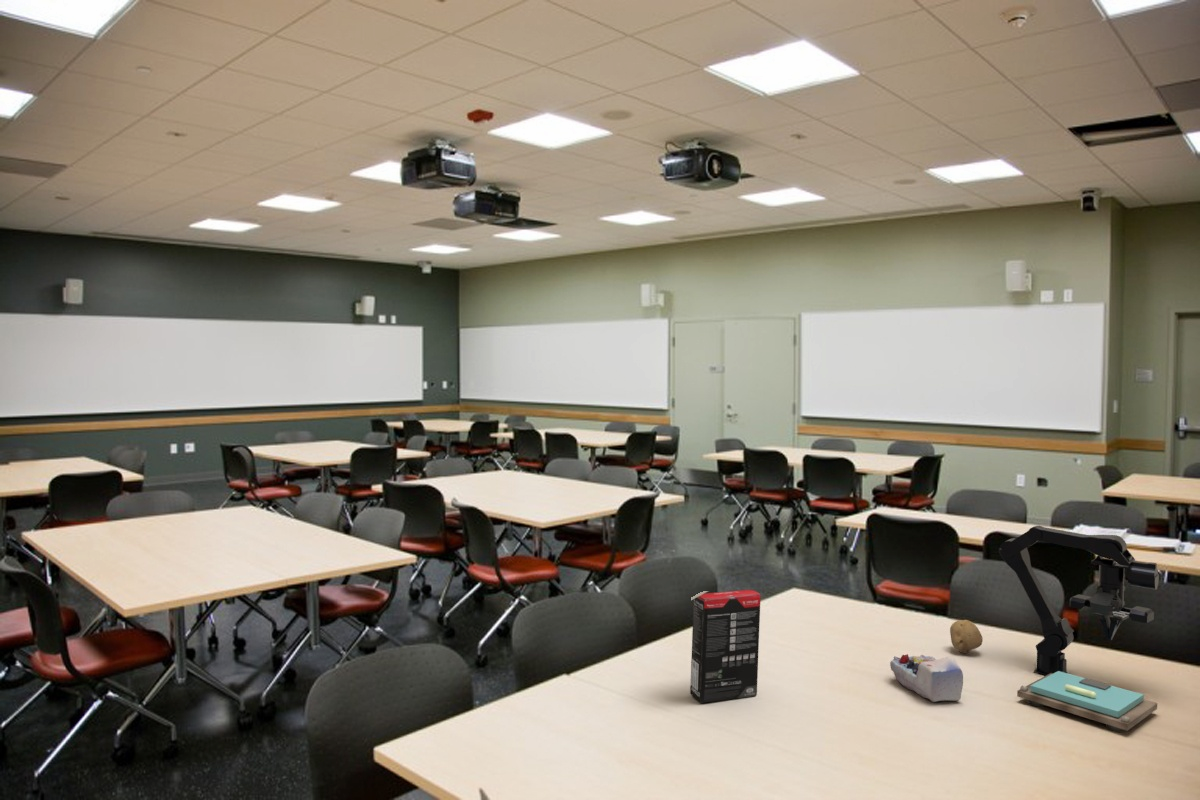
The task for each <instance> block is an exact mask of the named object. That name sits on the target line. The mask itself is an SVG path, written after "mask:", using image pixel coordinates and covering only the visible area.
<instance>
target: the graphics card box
mask: <svg viewBox="0 0 1200 800" xmlns="http://www.w3.org/2000/svg"><path fill="white" fill-rule="evenodd" d="M692 600H693V601H692V602H693V604H692V605H693V606H692V631H691V632H692V633H691V634H692V635H691V637H692V638H691V641H692V642H691V662H690V663H691V664H690V665H691V666H690V690H689V691H690V692H689V693H690V695H691V696H692V697H693V698H694V699H696V701H698V702H699V703H700V704H705V703H711V702H721V701H729V700H736V699H742V698H750V697H751V698H752V697H756V696H757V695H758V678H759V677H758V676H759V675H758V672H759V647H760V646H759V644H760V643H759V642H760V622H761V621H760V620H761V619H760V617H761V593H759V592H758V591H755V590H752V589H744V590H742V589H741V590H729V591H719V592H717V591H716V592H709V593H708V592H704V593H701V594H699V595H697V596H696V597H694V598H692Z"/></svg>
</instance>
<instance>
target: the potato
mask: <svg viewBox="0 0 1200 800" xmlns="http://www.w3.org/2000/svg"><path fill="white" fill-rule="evenodd" d="M949 632H950V634H949V635H950V640H951V644H952V647H953V649H956V650H957V651H958V652H960V653H961V654H962V653H963V654H965V653H966V654H967V653H969V652H971V651H972V650H975V649H978V648H979V647H982V644H983V639H984V638H983V635H982V633H981V631H980V630H979V628H978V627H977V626H976V624H975V623H973V622H972V621H971V620H969V619H959V620H956V621H954V622H953V623H952V624H951V625H950V629H949Z"/></svg>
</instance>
